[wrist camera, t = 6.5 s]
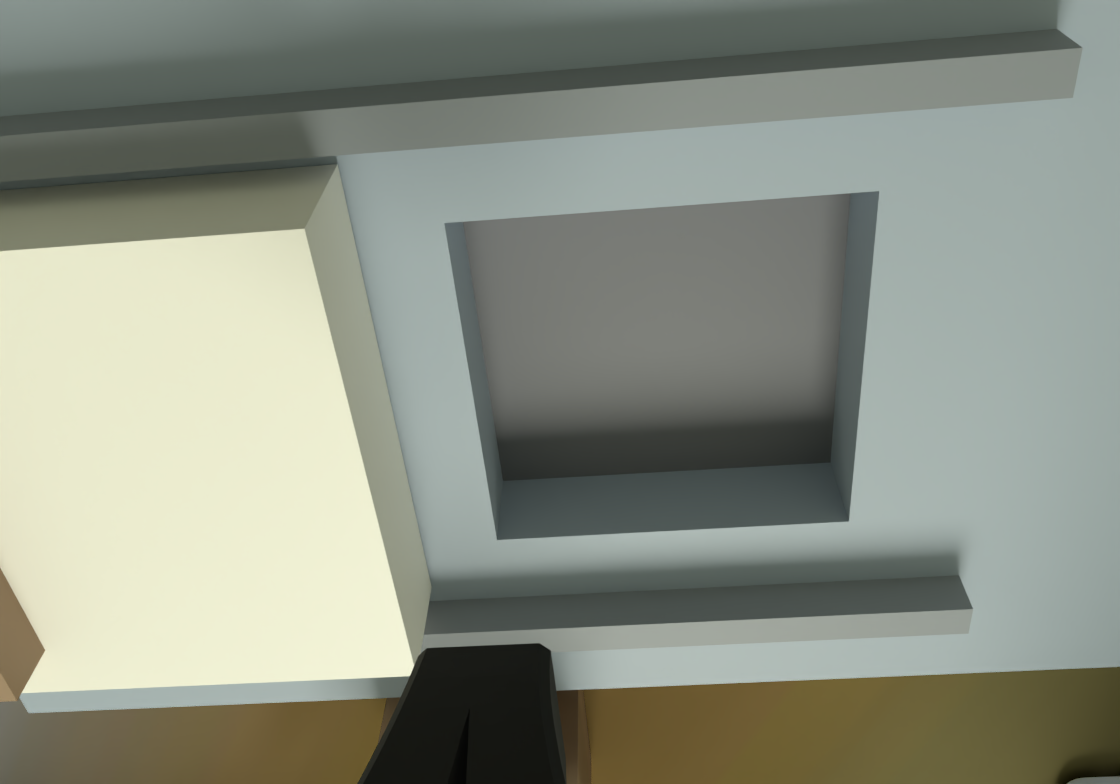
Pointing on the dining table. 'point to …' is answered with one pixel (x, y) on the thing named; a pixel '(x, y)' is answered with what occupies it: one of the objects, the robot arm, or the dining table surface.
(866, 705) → the dining table surface
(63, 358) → the cover
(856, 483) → the puzzle board
